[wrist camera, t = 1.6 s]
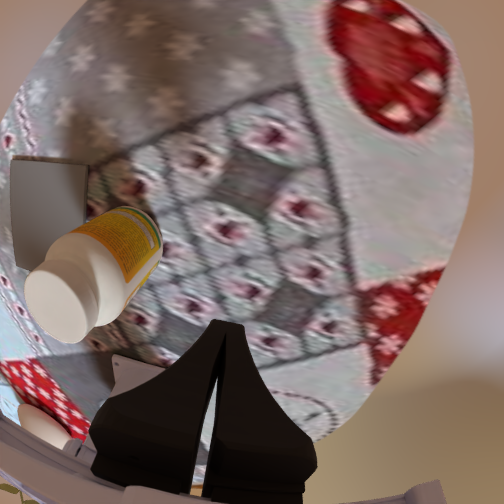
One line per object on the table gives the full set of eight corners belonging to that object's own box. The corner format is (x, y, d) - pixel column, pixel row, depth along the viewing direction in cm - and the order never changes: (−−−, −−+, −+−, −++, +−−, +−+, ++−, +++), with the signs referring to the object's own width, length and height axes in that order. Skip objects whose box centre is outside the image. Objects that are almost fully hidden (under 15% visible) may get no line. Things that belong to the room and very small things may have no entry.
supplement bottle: (161, 282, 21) (104, 370, 12) (99, 265, 21) (25, 335, 12) (169, 211, 19) (96, 274, 10) (102, 198, 19) (8, 244, 10)
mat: (88, 287, 21) (86, 289, 21) (18, 263, 21) (16, 265, 21) (88, 165, 18) (85, 166, 17) (13, 159, 17) (10, 160, 17)
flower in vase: (24, 414, 33) (-29, 507, 10) (20, 386, 29) (-49, 498, 6) (83, 454, 35) (42, 556, 12) (90, 434, 31) (38, 562, 8)
